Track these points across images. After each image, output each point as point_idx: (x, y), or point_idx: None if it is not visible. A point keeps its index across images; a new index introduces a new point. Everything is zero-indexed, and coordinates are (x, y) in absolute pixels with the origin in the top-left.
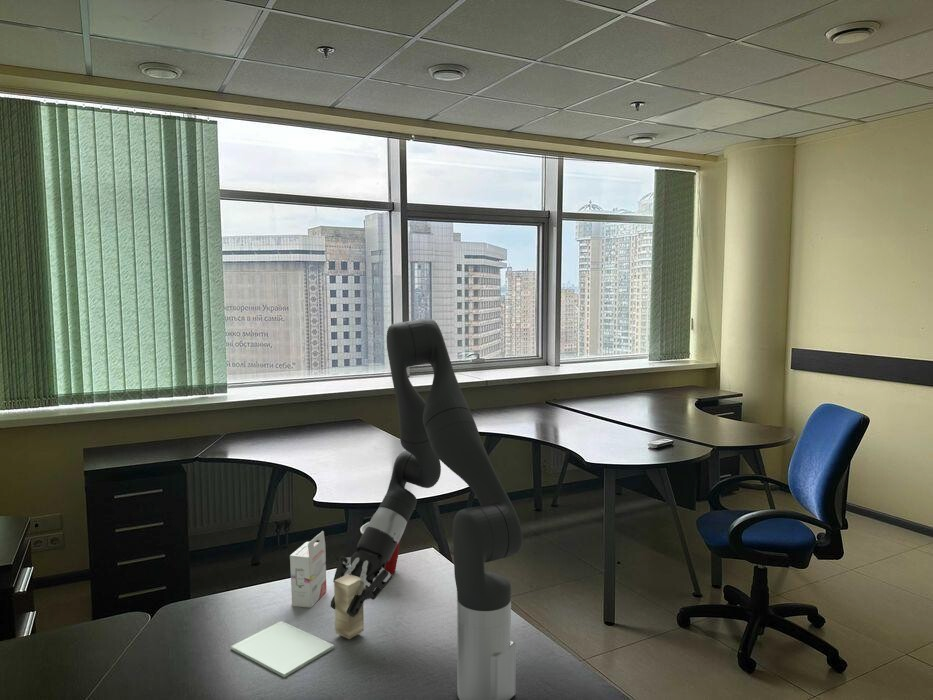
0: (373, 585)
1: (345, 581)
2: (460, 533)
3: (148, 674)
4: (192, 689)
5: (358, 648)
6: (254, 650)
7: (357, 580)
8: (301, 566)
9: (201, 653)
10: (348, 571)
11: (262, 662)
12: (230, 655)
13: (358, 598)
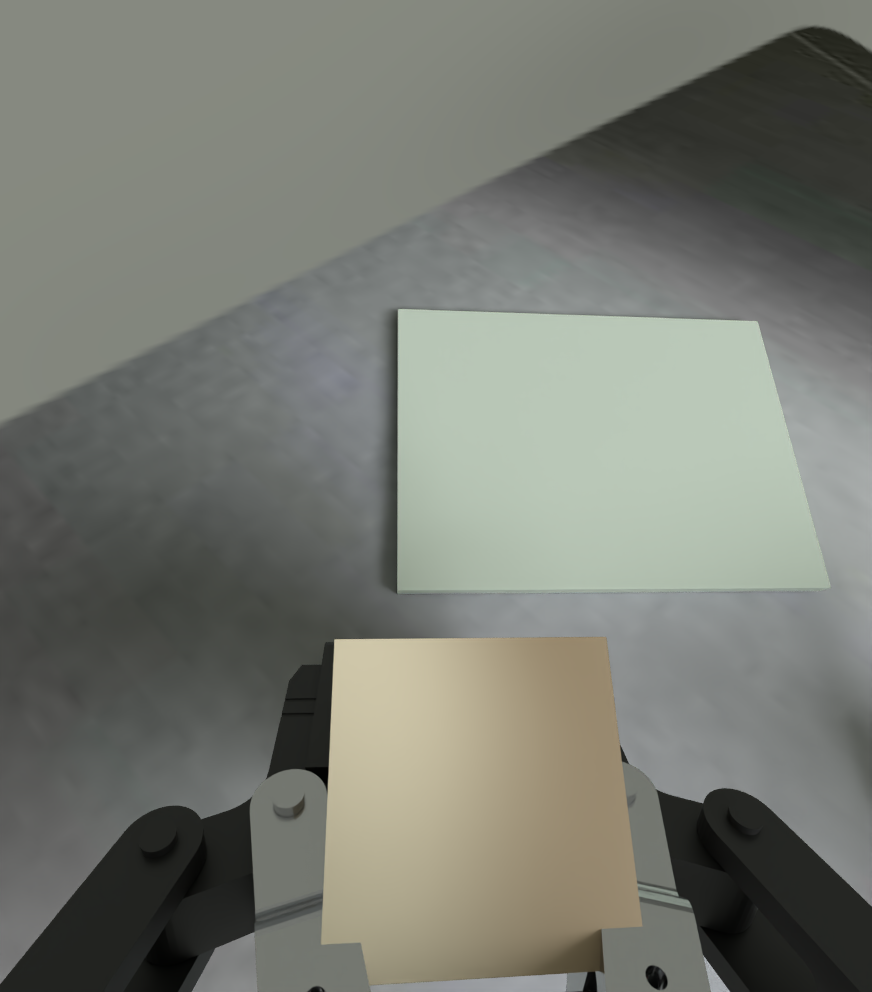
0: (55, 958)
1: (462, 711)
2: None
3: (779, 126)
4: (596, 142)
5: (278, 675)
6: (655, 350)
7: (336, 858)
8: None
9: (796, 261)
10: (667, 982)
11: (546, 316)
12: (706, 305)
13: (294, 766)
